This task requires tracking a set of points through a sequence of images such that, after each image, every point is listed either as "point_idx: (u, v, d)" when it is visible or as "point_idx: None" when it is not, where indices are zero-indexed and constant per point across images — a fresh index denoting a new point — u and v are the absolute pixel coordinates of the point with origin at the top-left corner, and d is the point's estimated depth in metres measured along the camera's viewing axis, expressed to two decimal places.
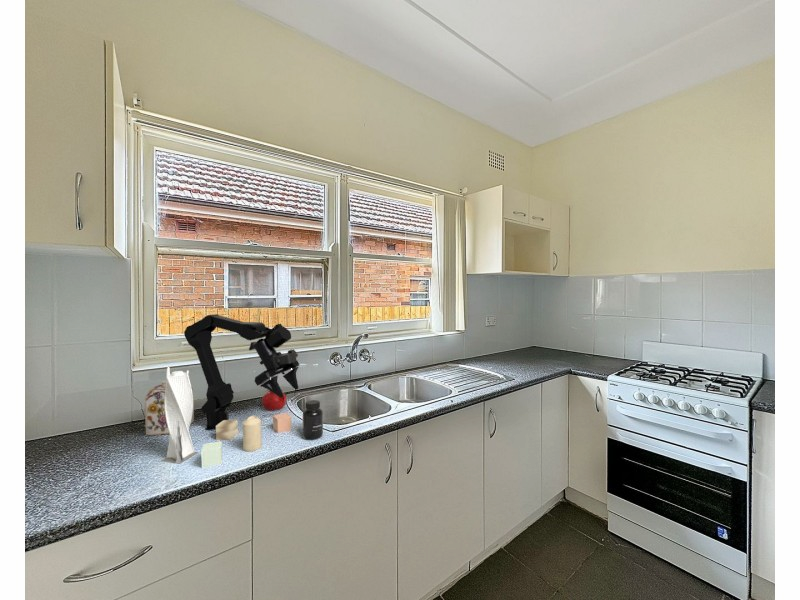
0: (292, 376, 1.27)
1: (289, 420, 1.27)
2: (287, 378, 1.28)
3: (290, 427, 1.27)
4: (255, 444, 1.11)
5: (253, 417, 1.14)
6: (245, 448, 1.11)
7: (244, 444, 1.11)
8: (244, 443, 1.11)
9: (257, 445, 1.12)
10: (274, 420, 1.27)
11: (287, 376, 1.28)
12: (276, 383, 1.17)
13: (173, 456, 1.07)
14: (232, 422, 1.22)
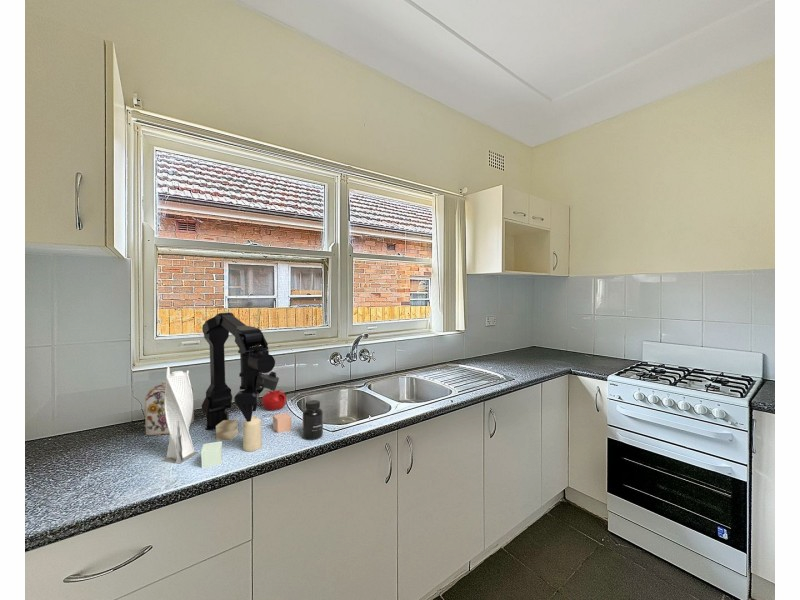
0: None
1: (289, 420, 1.27)
2: None
3: (290, 427, 1.27)
4: (255, 444, 1.11)
5: (253, 417, 1.14)
6: (245, 448, 1.11)
7: (244, 444, 1.11)
8: (244, 443, 1.11)
9: (257, 445, 1.12)
10: (274, 420, 1.27)
11: None
12: (252, 406, 1.08)
13: (173, 456, 1.07)
14: (232, 422, 1.22)
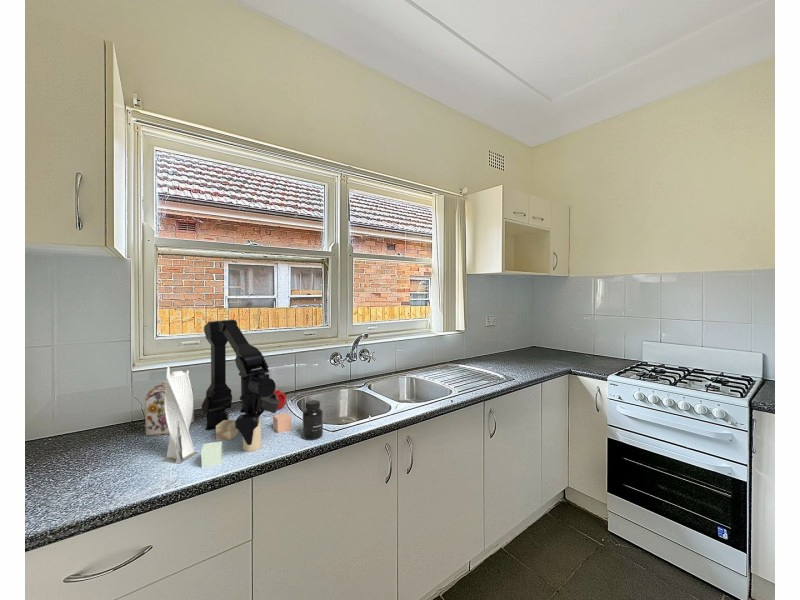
0: None
1: (289, 420, 1.27)
2: None
3: (290, 427, 1.27)
4: (255, 444, 1.11)
5: None
6: (245, 448, 1.11)
7: (244, 444, 1.11)
8: (244, 443, 1.11)
9: (257, 445, 1.12)
10: (274, 420, 1.27)
11: None
12: (253, 430, 1.08)
13: (173, 456, 1.07)
14: (232, 422, 1.22)
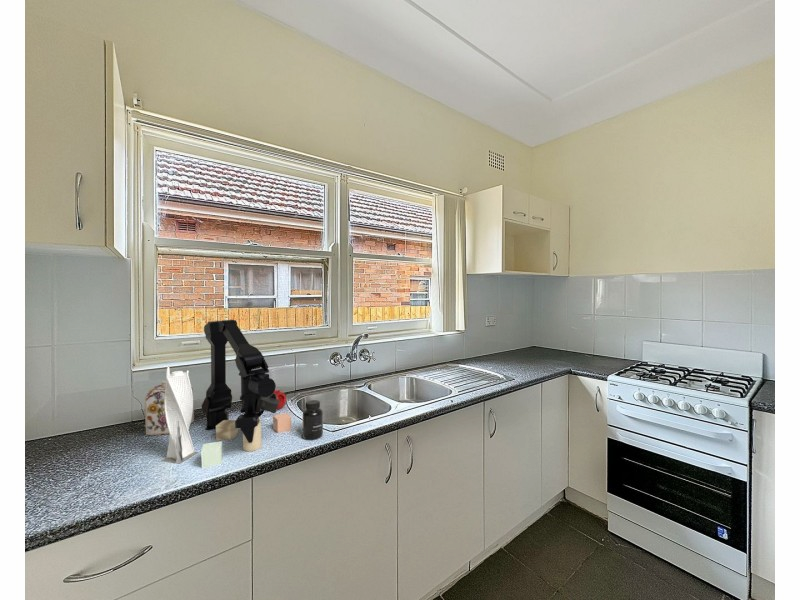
0: None
1: (289, 420, 1.27)
2: None
3: (290, 427, 1.27)
4: (255, 444, 1.11)
5: None
6: (245, 448, 1.11)
7: (244, 444, 1.11)
8: (244, 443, 1.11)
9: (257, 445, 1.12)
10: (274, 420, 1.27)
11: None
12: (254, 428, 1.09)
13: (173, 456, 1.07)
14: (232, 422, 1.22)
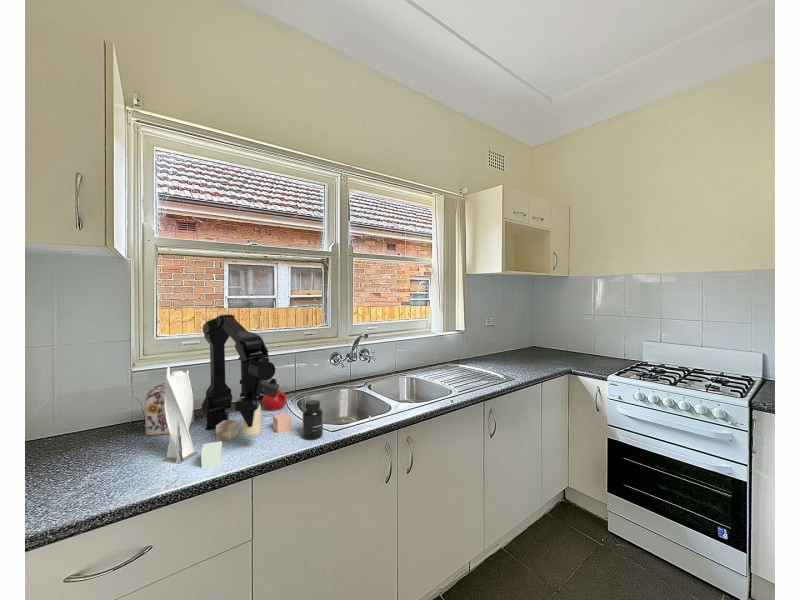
0: None
1: (289, 420, 1.27)
2: None
3: (290, 427, 1.27)
4: (255, 428, 1.11)
5: None
6: (245, 432, 1.11)
7: (244, 428, 1.11)
8: (244, 427, 1.11)
9: (257, 430, 1.11)
10: (274, 420, 1.27)
11: None
12: None
13: (173, 456, 1.07)
14: (232, 422, 1.22)
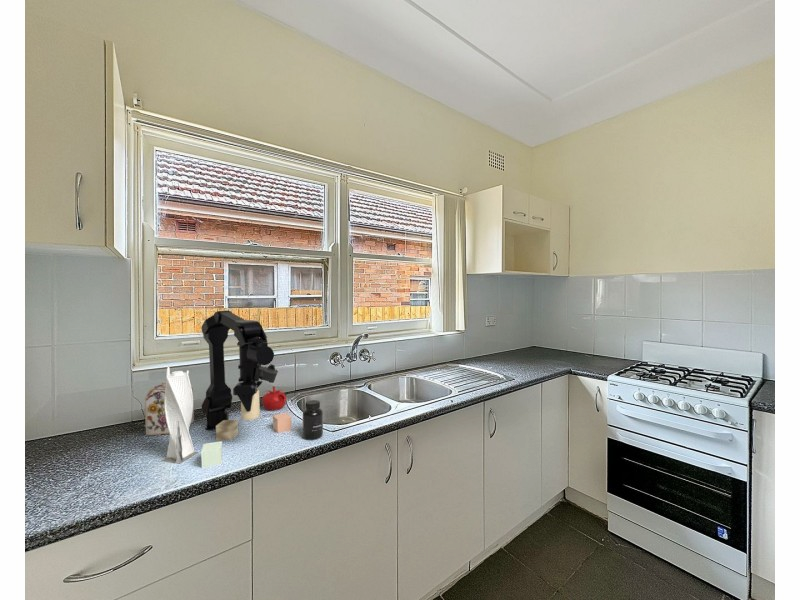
0: None
1: (289, 420, 1.27)
2: None
3: (290, 427, 1.27)
4: (253, 413, 1.12)
5: None
6: (243, 417, 1.11)
7: (242, 413, 1.11)
8: (242, 412, 1.11)
9: (255, 415, 1.12)
10: (274, 420, 1.27)
11: None
12: (252, 397, 1.10)
13: (173, 456, 1.07)
14: (232, 422, 1.22)
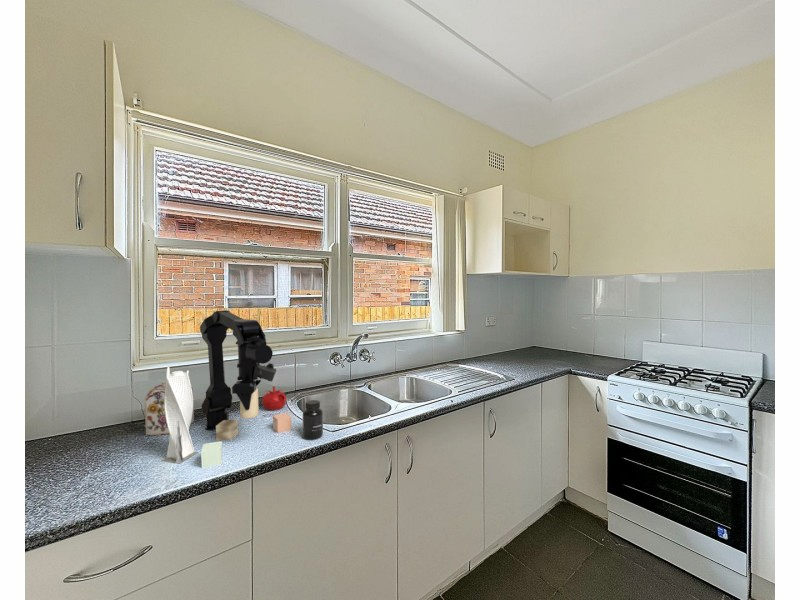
0: None
1: (289, 420, 1.27)
2: None
3: (290, 427, 1.27)
4: (252, 411, 1.13)
5: None
6: (242, 415, 1.12)
7: (241, 411, 1.12)
8: (241, 410, 1.12)
9: (254, 413, 1.13)
10: (274, 420, 1.27)
11: None
12: (251, 395, 1.11)
13: (173, 456, 1.07)
14: (232, 422, 1.22)
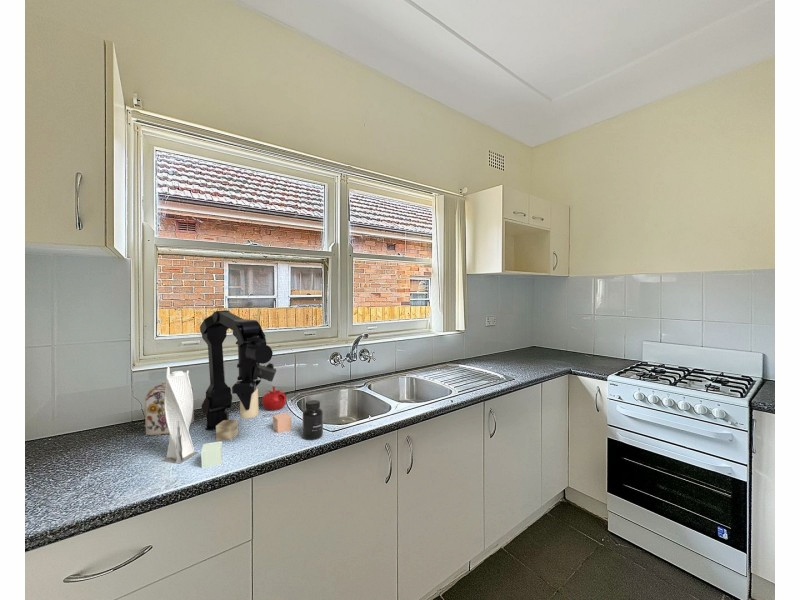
0: None
1: (289, 420, 1.27)
2: None
3: (290, 427, 1.27)
4: (252, 411, 1.13)
5: None
6: (242, 415, 1.12)
7: (241, 411, 1.12)
8: (241, 410, 1.12)
9: (254, 413, 1.13)
10: (274, 420, 1.27)
11: None
12: (251, 395, 1.11)
13: (173, 456, 1.07)
14: (232, 422, 1.22)
